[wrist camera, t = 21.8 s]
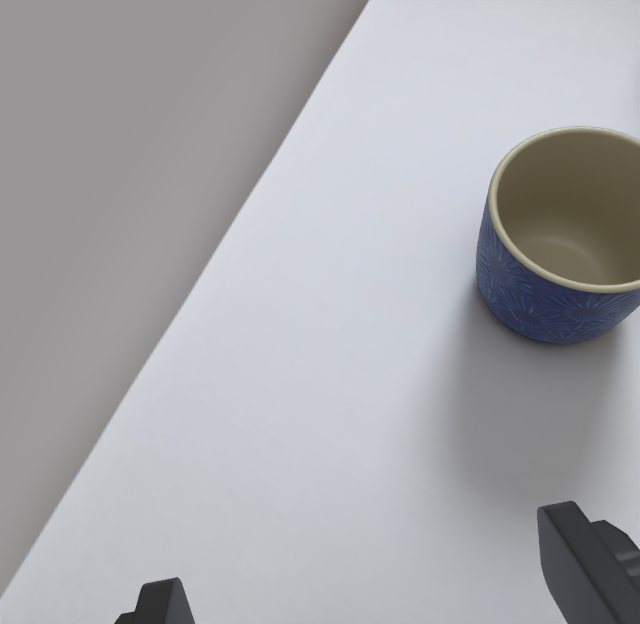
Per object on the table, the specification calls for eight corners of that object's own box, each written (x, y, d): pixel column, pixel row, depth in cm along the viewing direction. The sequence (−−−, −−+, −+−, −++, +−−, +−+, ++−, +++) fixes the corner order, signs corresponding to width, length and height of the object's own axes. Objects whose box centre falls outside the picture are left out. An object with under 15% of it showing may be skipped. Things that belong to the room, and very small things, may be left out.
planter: (628, 226, 49) (692, 132, 39) (633, 370, 44) (707, 304, 34) (471, 211, 51) (494, 117, 41) (459, 347, 46) (481, 278, 36)
